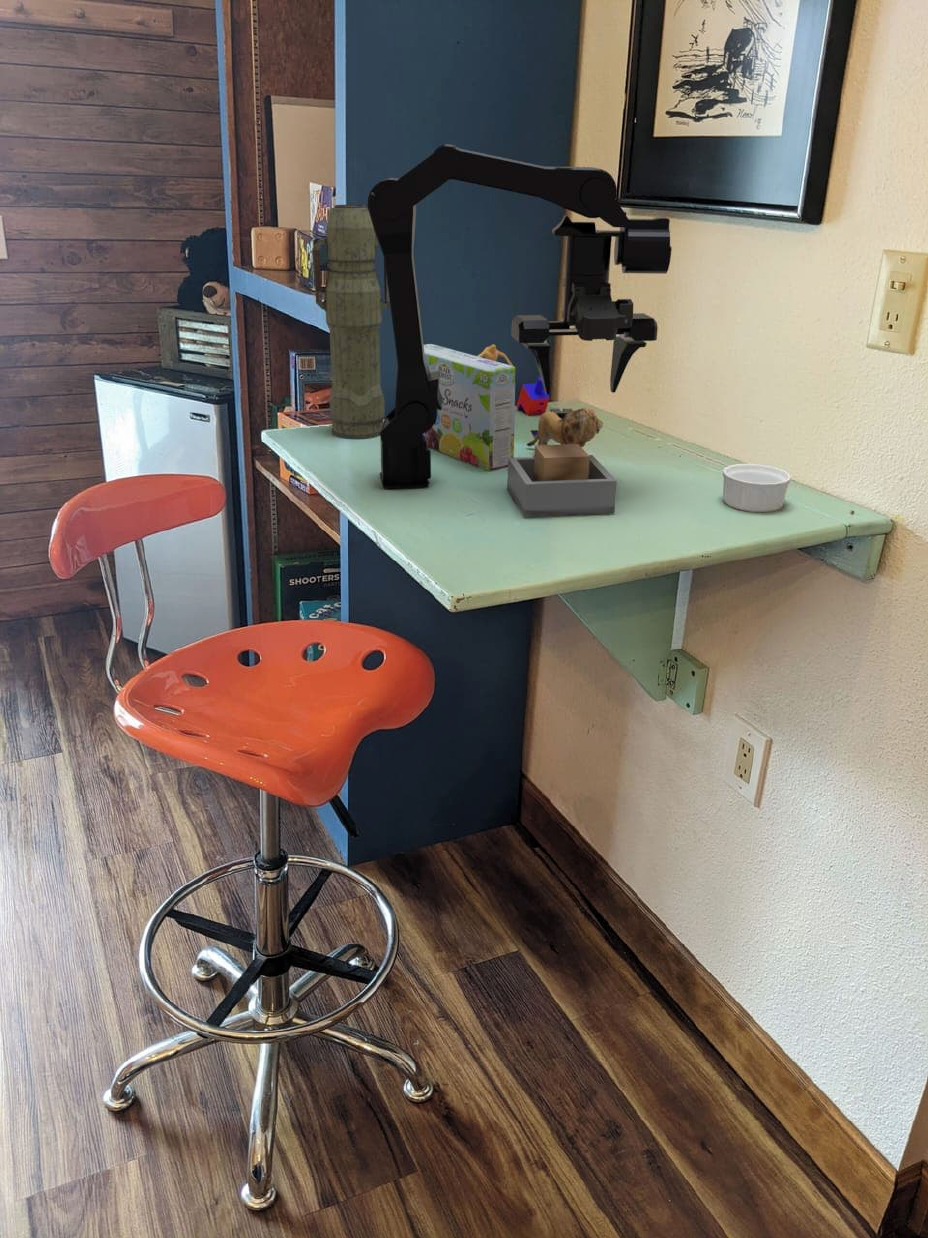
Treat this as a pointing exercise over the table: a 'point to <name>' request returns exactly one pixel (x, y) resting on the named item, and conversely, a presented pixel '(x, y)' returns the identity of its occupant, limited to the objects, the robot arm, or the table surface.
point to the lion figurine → (568, 427)
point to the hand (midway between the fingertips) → (580, 392)
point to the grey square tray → (561, 491)
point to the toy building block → (533, 398)
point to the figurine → (493, 354)
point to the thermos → (353, 321)
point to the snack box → (473, 408)
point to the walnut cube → (560, 463)
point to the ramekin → (755, 487)
